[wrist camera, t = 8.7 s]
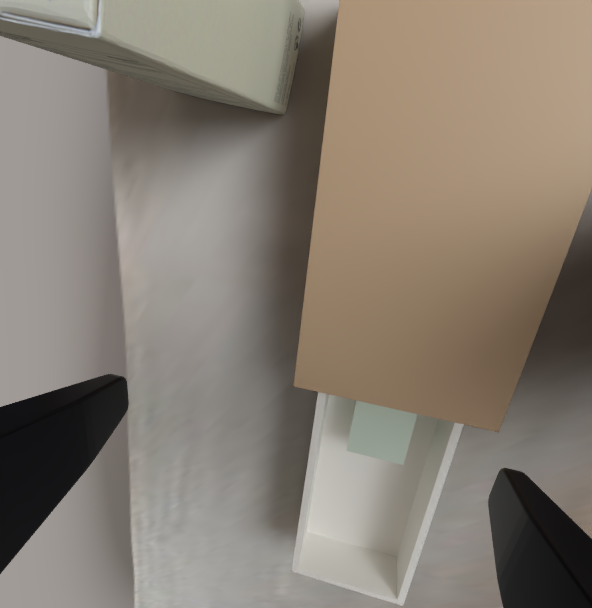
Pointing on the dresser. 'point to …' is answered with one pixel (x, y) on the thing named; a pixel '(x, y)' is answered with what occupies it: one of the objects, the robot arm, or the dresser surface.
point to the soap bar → (380, 432)
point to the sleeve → (444, 199)
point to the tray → (369, 504)
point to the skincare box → (174, 43)
